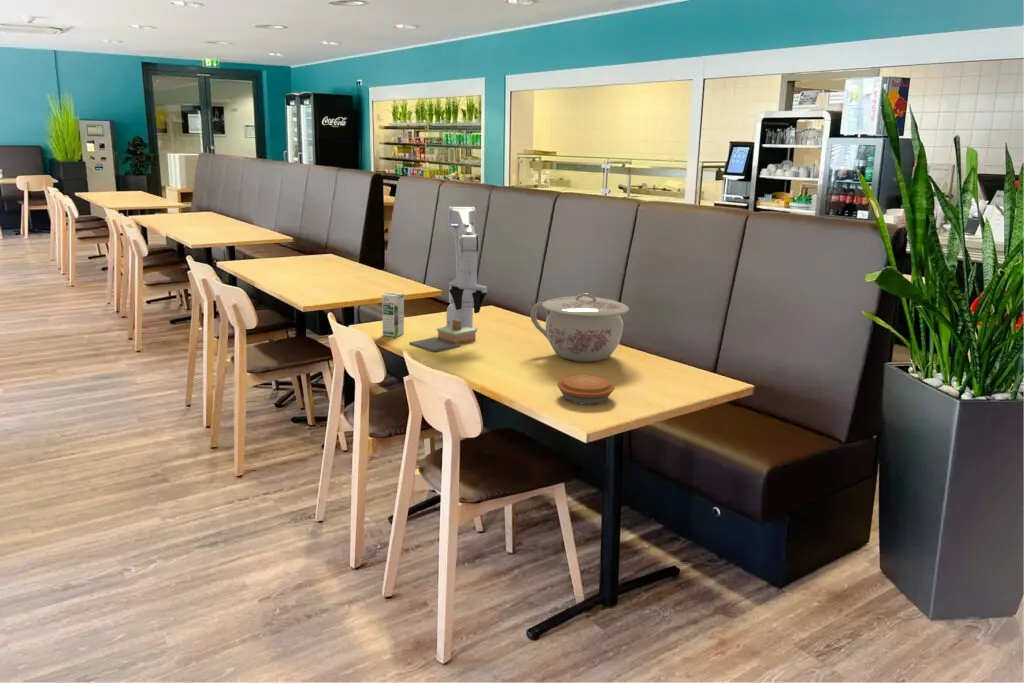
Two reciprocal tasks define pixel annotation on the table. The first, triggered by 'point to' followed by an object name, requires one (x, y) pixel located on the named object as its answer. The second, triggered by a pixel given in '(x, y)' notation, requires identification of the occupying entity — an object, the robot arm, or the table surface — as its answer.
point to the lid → (456, 329)
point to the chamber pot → (582, 326)
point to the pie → (585, 389)
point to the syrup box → (393, 314)
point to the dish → (457, 337)
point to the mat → (434, 344)
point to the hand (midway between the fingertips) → (467, 311)
